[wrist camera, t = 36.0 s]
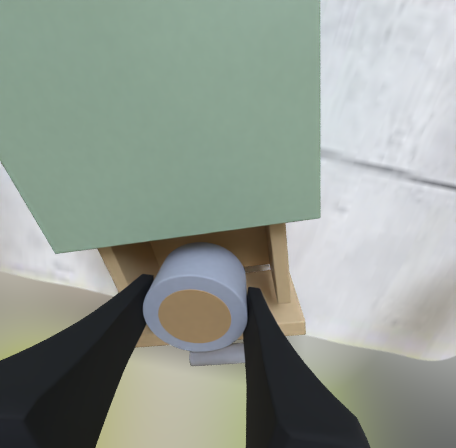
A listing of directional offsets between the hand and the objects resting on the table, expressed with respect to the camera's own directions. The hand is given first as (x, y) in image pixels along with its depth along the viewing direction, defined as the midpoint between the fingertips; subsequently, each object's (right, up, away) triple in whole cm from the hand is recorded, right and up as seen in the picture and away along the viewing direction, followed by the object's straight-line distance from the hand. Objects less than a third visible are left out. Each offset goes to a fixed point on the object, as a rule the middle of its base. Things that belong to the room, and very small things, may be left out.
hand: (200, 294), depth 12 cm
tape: (0, +1, +1) cm, 1 cm away
